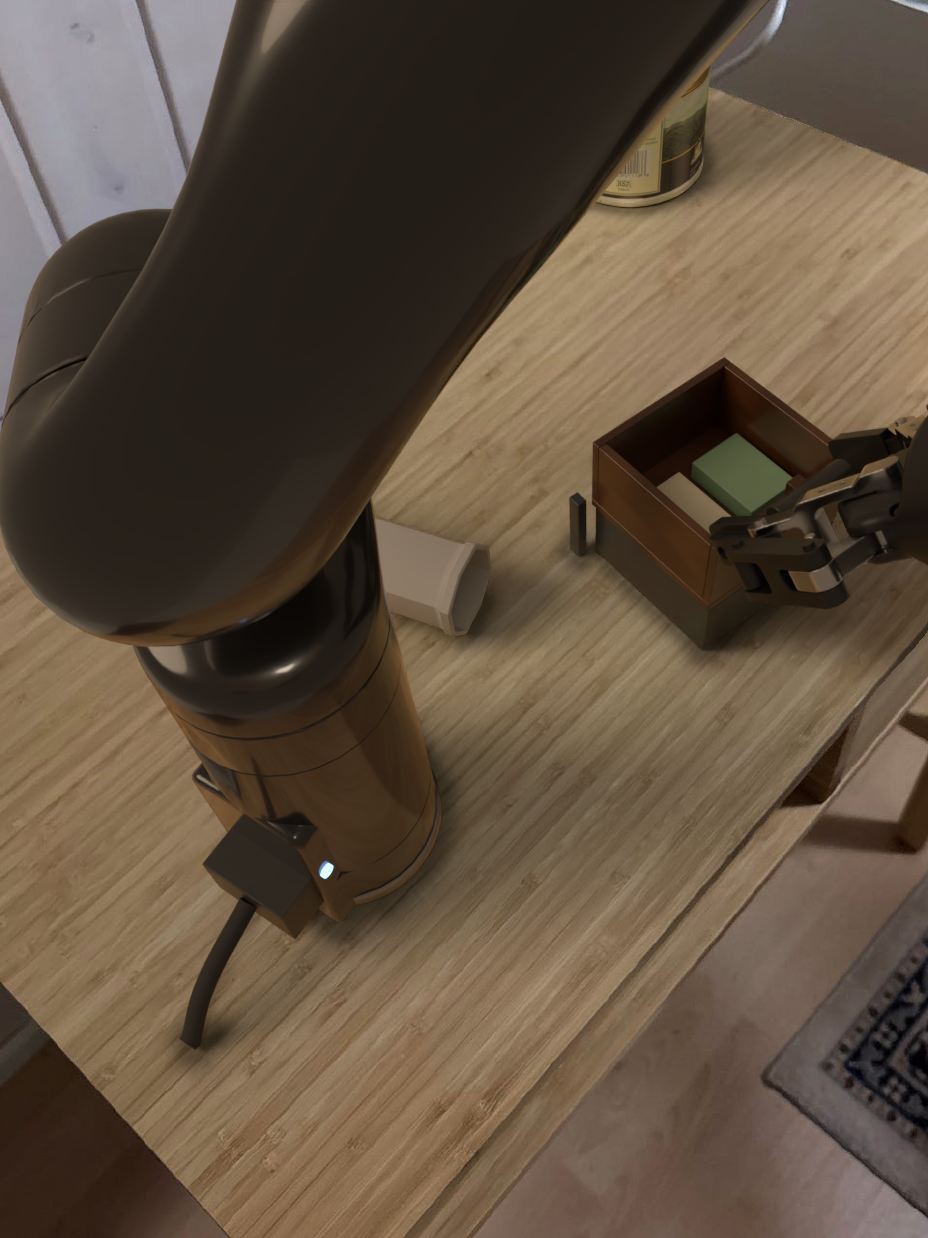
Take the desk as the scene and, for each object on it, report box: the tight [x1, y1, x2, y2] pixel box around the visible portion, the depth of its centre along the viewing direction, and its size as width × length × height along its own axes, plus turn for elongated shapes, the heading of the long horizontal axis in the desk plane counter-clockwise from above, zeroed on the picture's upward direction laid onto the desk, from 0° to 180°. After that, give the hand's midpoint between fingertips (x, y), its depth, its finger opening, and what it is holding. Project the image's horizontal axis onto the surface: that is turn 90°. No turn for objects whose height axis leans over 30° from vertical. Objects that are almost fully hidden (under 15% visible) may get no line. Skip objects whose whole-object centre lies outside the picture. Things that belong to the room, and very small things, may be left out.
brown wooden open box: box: [591, 357, 856, 611], centre depth 57 cm, size 11×9×7 cm
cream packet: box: [657, 472, 731, 533], centre depth 59 cm, size 4×3×1 cm
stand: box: [568, 492, 834, 651], centre depth 62 cm, size 10×11×5 cm
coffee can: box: [596, 64, 712, 208], centre depth 78 cm, size 10×10×14 cm
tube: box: [375, 515, 492, 637], centre depth 65 cm, size 5×5×25 cm
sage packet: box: [691, 433, 792, 516], centre depth 60 cm, size 4×3×1 cm
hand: (781, 498), depth 54 cm, fingers closed on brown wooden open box, 7 cm apart
